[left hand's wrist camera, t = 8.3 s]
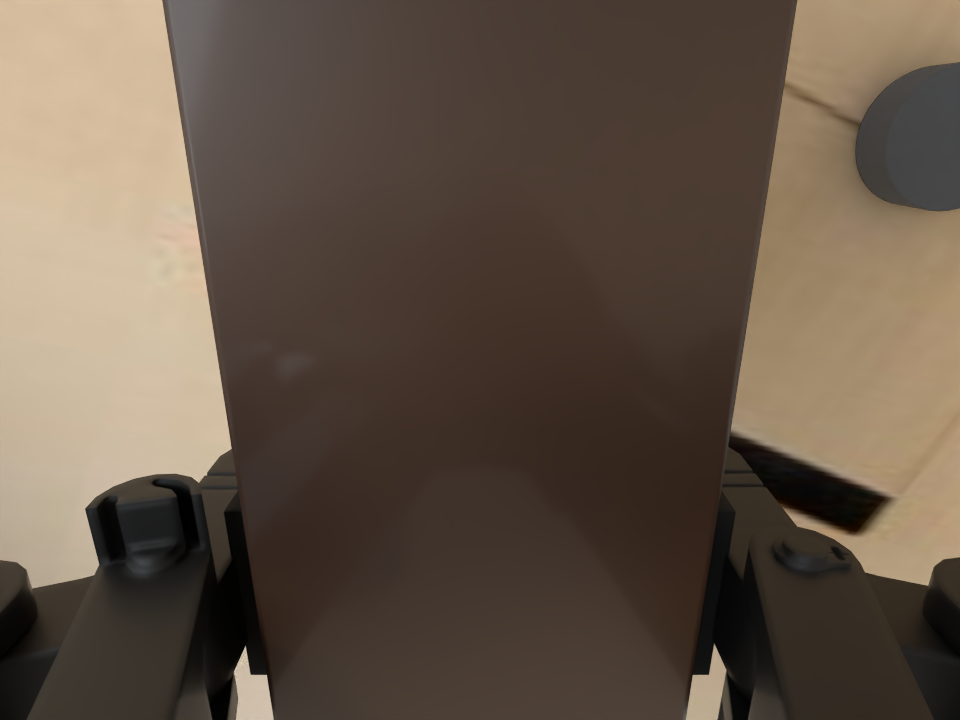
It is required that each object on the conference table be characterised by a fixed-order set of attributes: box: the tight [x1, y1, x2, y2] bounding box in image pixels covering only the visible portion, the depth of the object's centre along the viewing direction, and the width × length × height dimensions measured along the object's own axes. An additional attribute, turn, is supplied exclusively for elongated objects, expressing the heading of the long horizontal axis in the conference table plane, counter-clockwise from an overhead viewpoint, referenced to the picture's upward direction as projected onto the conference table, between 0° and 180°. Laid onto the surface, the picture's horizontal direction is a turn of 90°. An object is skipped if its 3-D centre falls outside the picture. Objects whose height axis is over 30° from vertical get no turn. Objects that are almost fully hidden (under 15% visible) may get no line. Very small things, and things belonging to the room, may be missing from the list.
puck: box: [856, 62, 960, 211], centre depth 23 cm, size 5×5×2 cm
